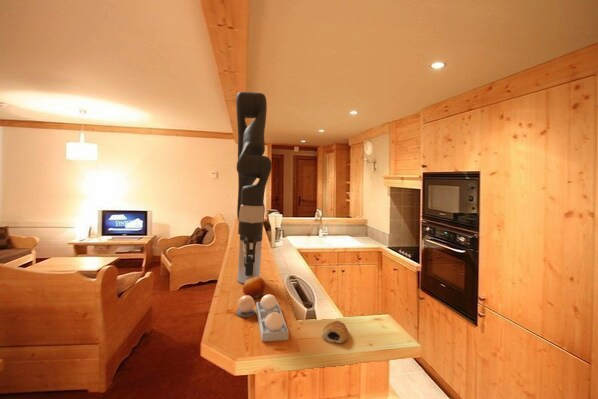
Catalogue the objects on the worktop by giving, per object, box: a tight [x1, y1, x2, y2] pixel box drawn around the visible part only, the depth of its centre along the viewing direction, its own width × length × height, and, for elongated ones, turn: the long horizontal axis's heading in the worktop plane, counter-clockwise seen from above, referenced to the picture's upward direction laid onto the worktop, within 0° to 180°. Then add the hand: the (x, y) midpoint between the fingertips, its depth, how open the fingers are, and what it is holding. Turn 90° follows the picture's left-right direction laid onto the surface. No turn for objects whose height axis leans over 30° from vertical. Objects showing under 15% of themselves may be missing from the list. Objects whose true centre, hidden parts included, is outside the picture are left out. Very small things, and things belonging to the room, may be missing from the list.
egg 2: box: [265, 312, 284, 332], centre depth 80 cm, size 5×5×5 cm
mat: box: [235, 308, 256, 319], centre depth 91 cm, size 6×6×1 cm
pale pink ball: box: [237, 294, 255, 313], centre depth 91 cm, size 5×5×5 cm
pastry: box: [321, 320, 349, 344], centre depth 82 cm, size 9×7×4 cm
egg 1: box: [259, 293, 278, 311], centre depth 92 cm, size 5×5×5 cm
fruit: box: [242, 276, 266, 299], centre depth 105 cm, size 8×8×8 cm
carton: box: [255, 301, 290, 342], centre depth 86 cm, size 19×7×2 cm, turn 13°
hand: (248, 271), depth 90 cm, fingers open, 8 cm apart
